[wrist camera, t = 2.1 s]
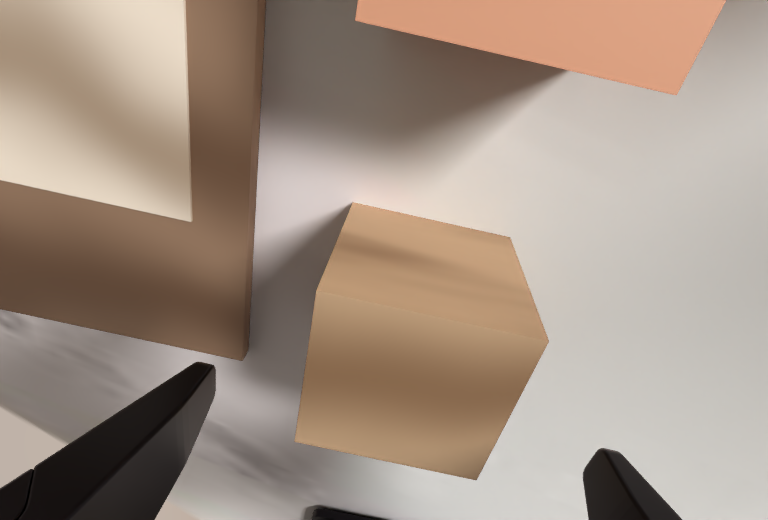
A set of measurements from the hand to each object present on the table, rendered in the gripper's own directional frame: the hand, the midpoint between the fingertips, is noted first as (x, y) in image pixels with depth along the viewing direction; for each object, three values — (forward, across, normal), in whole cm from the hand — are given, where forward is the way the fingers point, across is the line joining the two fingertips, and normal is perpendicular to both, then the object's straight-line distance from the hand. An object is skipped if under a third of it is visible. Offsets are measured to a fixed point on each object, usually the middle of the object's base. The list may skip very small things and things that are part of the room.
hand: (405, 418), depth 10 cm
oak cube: (+6, 0, 0) cm, 6 cm away
